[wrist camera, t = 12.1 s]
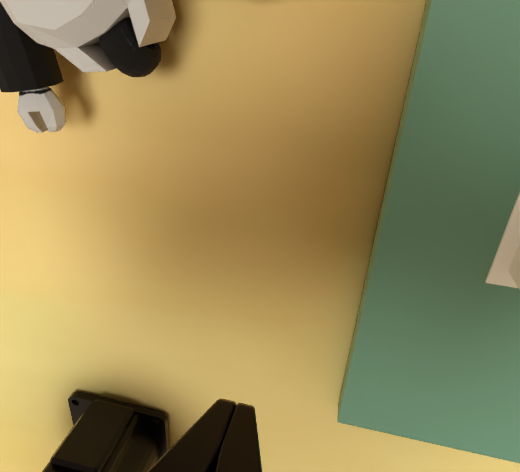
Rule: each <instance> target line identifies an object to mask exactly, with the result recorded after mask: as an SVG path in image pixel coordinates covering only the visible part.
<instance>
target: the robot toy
mask: <svg viewBox="0 0 520 472" xmlns="http://www.w3.org/2000/svg"><path fill="white" fill-rule="evenodd" d="M175 19H176V14H175V10H174V6H173V2H172V0H0V89H1V92H18V91H20V92H19V101H18V114H19V115H20V117H21V118H22V120H23V122H24V123H25V125H26V126H27V128H28V129H30V130H32V131H34V132H36V133H39V132H44V131H46V130H48V131H49V132H56V131H59V130H61V129H62V128H63V126H64V125H65V123H66V114H65V105H64V104H63V103H62V101H61V100H60V99H59V98H58V97H57V95H56V94H55V93H54V92H53V91H52V90H51V88H49V86H53V85H56V84H58V83H61V82H63V78H62V75H61V72H60V69H59V65H58V62H57V59H56V56H55V53H54V50H53V49H55V50H56V51H57V52H59V53H60V54H61V55H62V56H64V57H65V58H66V59H67V60H69V61H70V62H71V63H72V64H74V65H75V66H76V67H77V68H78V69H80V70H81V71H82V72H103V71H109V70H112V69H115V68H117V69H118V70H120V71H121V72H122V73H124V74H126V75H128V76H131V77H143V76H146V75H148V74H150V73H151V72H152V71H153V70H154V69H155V68H156V67H157V66H158V64H159V62H160V60H161V48H160V45H159V42H161V41H164V40H166V39H167V37H168V35H169V33H170V30H171V28H172V26H173V24H174V21H175Z"/></svg>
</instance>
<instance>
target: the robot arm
mask: <svg viewBox="0 0 520 472" xmlns="http://www.w3.org/2000/svg"><path fill="white" fill-rule="evenodd" d="M68 402H69V407H70V411H71V416H72V420H73V424H74V426H73V428H72V429H71V430H70V432H69V433H68V435H67V436H66V437H65V439H64V440H63V442H62V443H61V444H60V446H59V447H58V449H57V450H56V451H55V453H54V454H53V456H52V457H51V459H50V461H49V463H48V464H47V466H46V467H45V468H44V470H43V471H42V472H262V466H261V458H260V449H259V441H258V432H257V424H256V415H255V408H254V407H253V406H251V405H247V404H243V403H238V404H237V405H236V403H235V402H234V401H230V400H226V399H219V400H217V401H216V402H215V403H214V404H213V405H212V406H211V407H210V408H209V409H208V410H207V411H206V412H205V413H204V414H203V415H202V416H201V417H200V419H199V420H198V421H197V422H196V423H195V424H194V425H193V426H192V427H191V428H190V429H189V430H188V431H187V432H186V433H185V434H184V435H183V436H182V437H181V438H180V439H179V440H178V441H177V442H176V443H175V444H174V445H173V446H172V447H171V448H170V446H169V430H168V418H167V416H166V415H165V414H164V413H163V412H160V411H156V410H152V409H147V408H143V407H139V406H135V405H131V404H126V403H122V402H118V401H114V400H110V399H105V398H101V397H97V396H93V395H89V394H84V393H80V392H73V393H72V395H71V396H70V397H69V399H68Z"/></svg>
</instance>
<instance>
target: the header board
mask: <svg viewBox="0 0 520 472" xmlns="http://www.w3.org/2000/svg"><path fill="white" fill-rule="evenodd" d="M519 243H520V0H427V1H426V6H425V10H424V15H423V19H422V24H421V29H420V33H419V38H418V42H417V47H416V52H415V56H414V61H413V65H412V70H411V74H410V79H409V84H408V88H407V93H406V97H405V102H404V106H403V111H402V116H401V120H400V125H399V129H398V134H397V138H396V143H395V148H394V152H393V157H392V161H391V166H390V170H389V175H388V180H387V184H386V189H385V193H384V198H383V202H382V207H381V212H380V216H379V221H378V225H377V230H376V234H375V239H374V244H373V248H372V253H371V257H370V262H369V266H368V271H367V276H366V280H365V285H364V289H363V294H362V298H361V303H360V308H359V312H358V317H357V321H356V326H355V330H354V335H353V340H352V344H351V349H350V353H349V358H348V362H347V367H346V372H345V376H344V381H343V385H342V390H341V394H340V399H339V405H338V422H339V423H344V424H348V425H353V426H357V427H362V428H366V429H370V430H375V431H379V432H384V433H388V434H393V435H397V436H401V437H406V438H410V439H415V440H419V441H424V442H428V443H432V444H437V445H441V446H446V447H450V448H455V449H459V450H463V451H468V452H472V453H477V454H481V455H486V456H490V457H494V458H499V459H503V460H508V461H512V462H517V463H520V290H519V288H518V287H517V285H516V283H515V282H514V280H513V278H512V277H511V275H510V273H509V272H508V270H509V267H510V265H511V262H512V260H513V258H514V255H515V253H516V250H517V248H518V245H519Z"/></svg>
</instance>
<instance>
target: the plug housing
mask: <svg viewBox="0 0 520 472" xmlns="http://www.w3.org/2000/svg"><path fill="white" fill-rule="evenodd" d="M508 272H509V273H510V275H511V277H512V278H513V280H514V282H515V283H516V285H517V287H518V288H519V290H520V243H519V245H518V248H517V250H516V253H515V255H514V258H513V260H512V262H511V265H510V267H509V270H508Z"/></svg>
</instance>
